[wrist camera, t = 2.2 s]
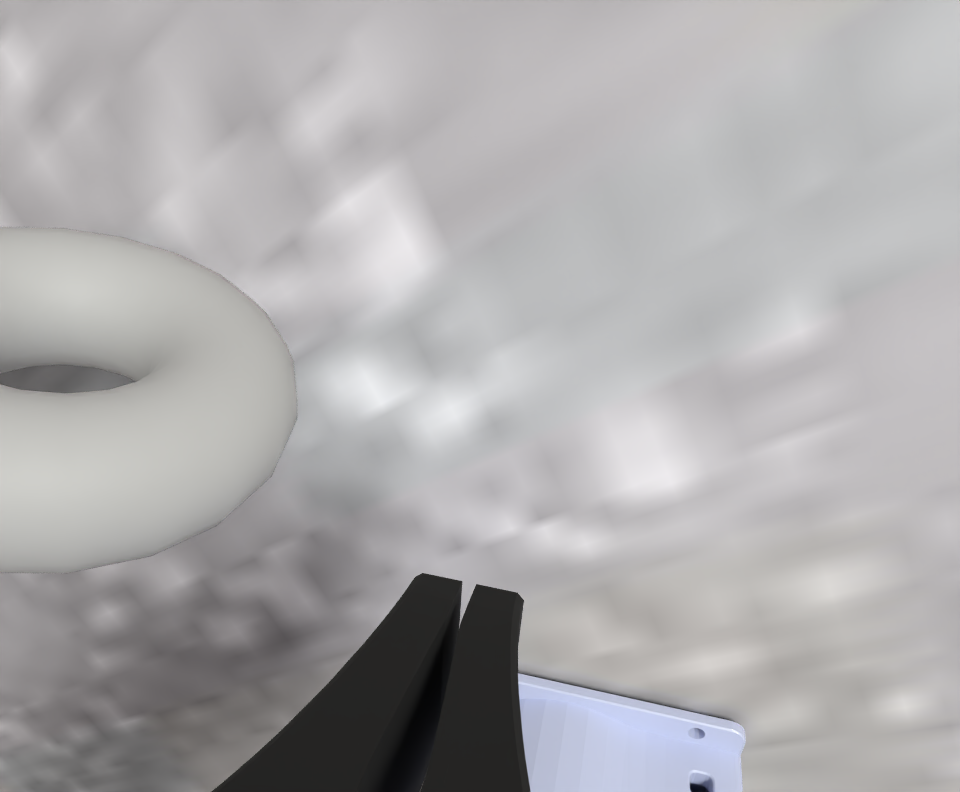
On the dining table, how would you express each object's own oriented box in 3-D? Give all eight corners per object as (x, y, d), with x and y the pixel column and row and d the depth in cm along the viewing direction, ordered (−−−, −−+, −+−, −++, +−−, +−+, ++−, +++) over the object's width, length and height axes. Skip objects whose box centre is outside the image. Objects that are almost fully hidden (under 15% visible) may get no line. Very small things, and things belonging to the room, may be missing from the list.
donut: (372, 296, 20) (151, 567, 12) (347, 402, 22) (140, 699, 14) (12, 160, 21) (-451, 330, 12) (17, 276, 22) (-380, 492, 14)
